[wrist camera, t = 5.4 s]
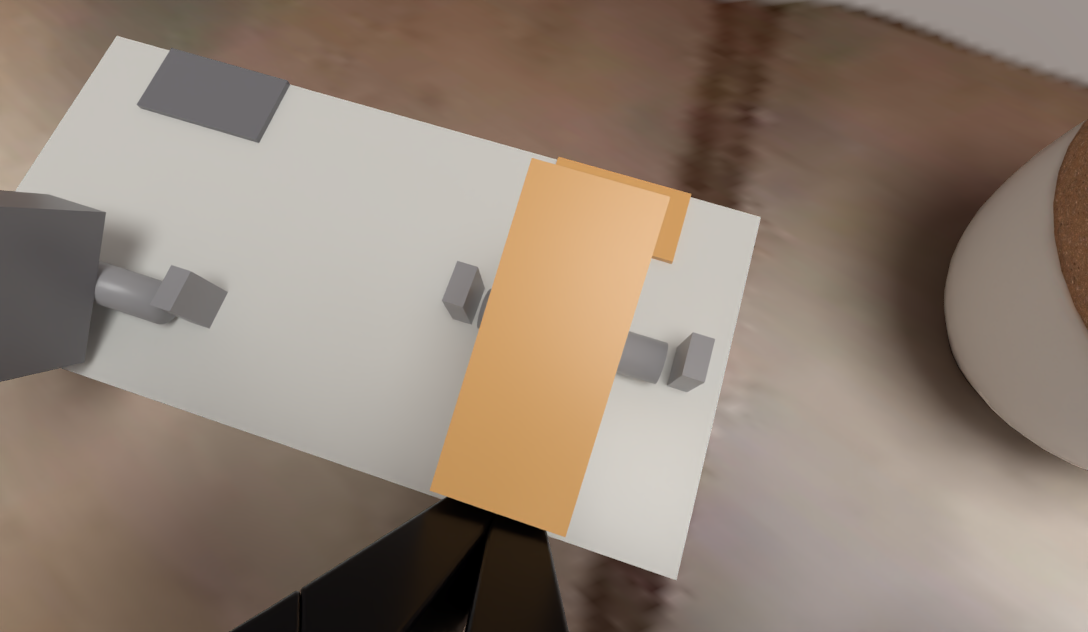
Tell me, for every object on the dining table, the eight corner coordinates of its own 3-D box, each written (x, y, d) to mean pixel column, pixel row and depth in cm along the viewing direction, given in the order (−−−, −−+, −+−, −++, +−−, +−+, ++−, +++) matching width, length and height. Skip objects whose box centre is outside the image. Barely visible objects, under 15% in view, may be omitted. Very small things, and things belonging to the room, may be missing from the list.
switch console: (658, 565, 17) (694, 595, 13) (5, 341, 19) (-144, 304, 15) (735, 247, 20) (784, 188, 16) (162, 82, 22) (74, -8, 17)
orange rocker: (636, 434, 16) (699, 584, 7) (466, 379, 16) (306, 449, 7) (680, 289, 16) (806, 235, 7) (510, 238, 16) (406, 122, 7)
